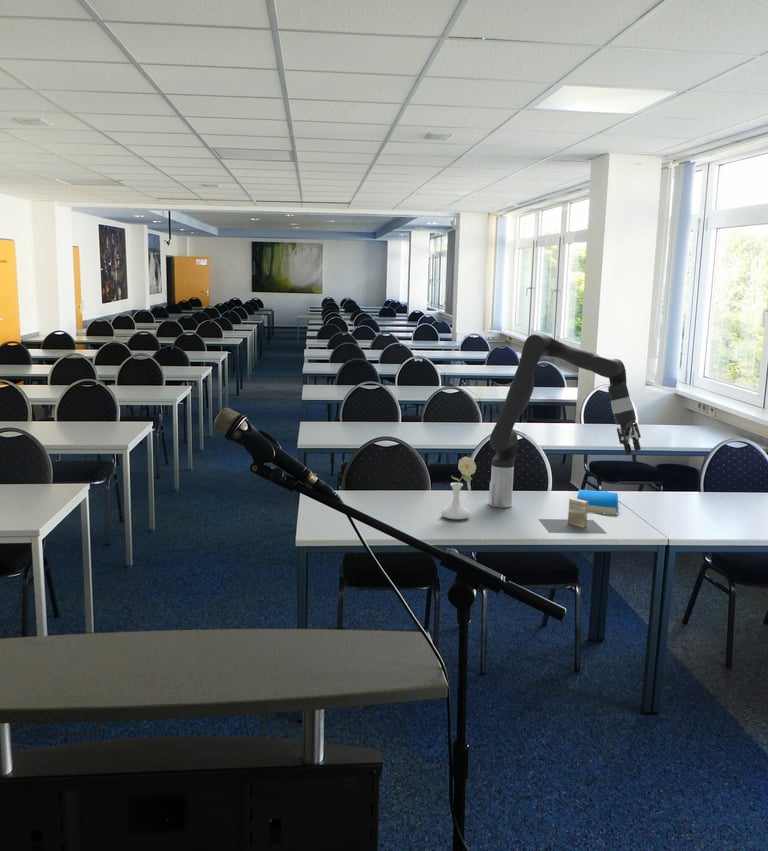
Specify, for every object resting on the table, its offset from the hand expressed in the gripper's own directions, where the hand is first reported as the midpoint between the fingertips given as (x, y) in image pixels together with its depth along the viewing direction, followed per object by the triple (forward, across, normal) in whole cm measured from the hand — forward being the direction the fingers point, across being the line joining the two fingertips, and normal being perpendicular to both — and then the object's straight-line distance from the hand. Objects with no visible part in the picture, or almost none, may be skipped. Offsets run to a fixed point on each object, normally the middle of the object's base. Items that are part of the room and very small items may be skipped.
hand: (633, 452), depth 296 cm
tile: (+23, +9, -26) cm, 36 cm away
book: (+22, -26, -33) cm, 48 cm away
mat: (+23, +12, -26) cm, 37 cm away
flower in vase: (+10, +32, -64) cm, 72 cm away
